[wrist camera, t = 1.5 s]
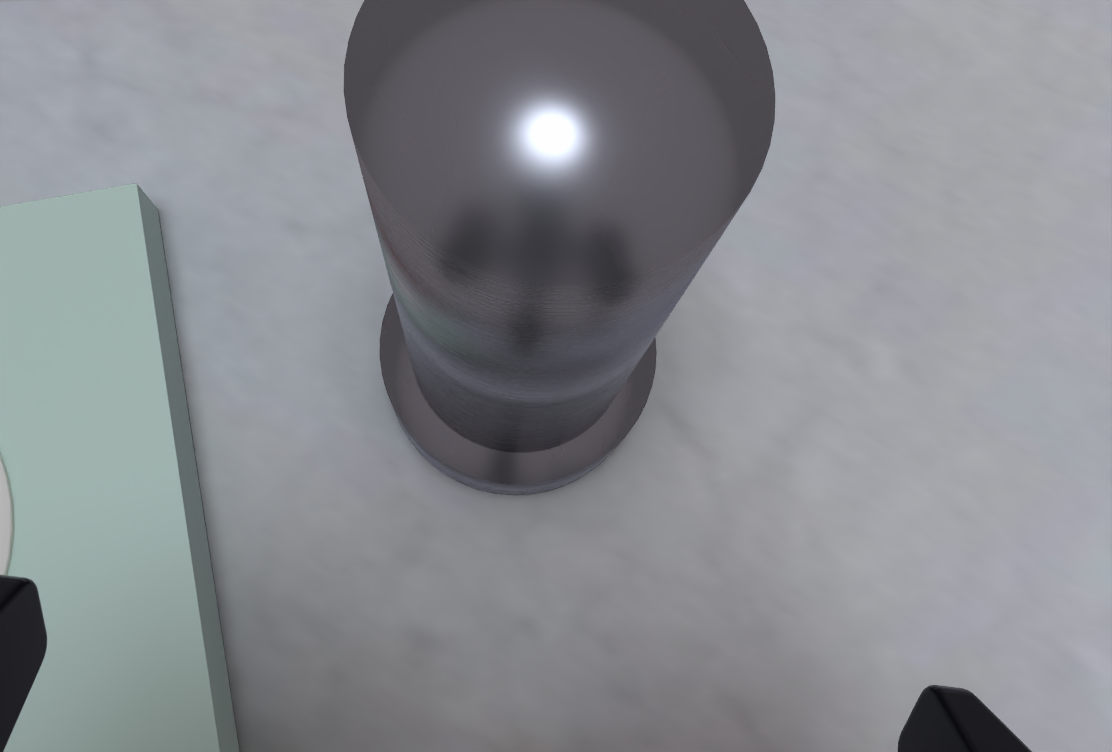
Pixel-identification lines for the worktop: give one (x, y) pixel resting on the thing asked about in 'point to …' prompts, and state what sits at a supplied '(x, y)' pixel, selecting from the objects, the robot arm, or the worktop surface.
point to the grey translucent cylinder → (545, 210)
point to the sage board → (105, 484)
